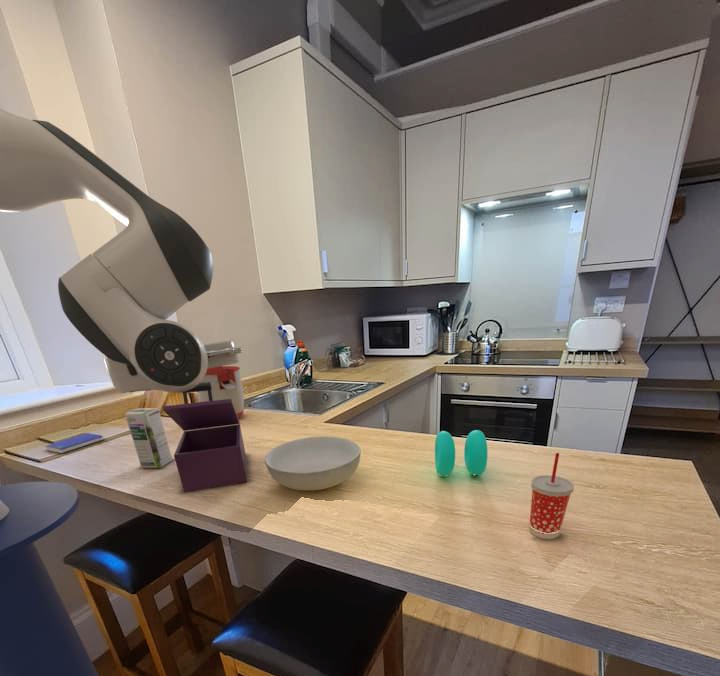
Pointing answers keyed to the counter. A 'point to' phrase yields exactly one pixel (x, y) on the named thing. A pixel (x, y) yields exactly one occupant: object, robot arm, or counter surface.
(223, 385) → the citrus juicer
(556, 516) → the beverage cup
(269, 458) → the serving bowl
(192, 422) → the lid
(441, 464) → the pair of teal ovoids
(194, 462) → the box
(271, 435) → the counter surface
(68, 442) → the hard drive
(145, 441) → the syrup box
